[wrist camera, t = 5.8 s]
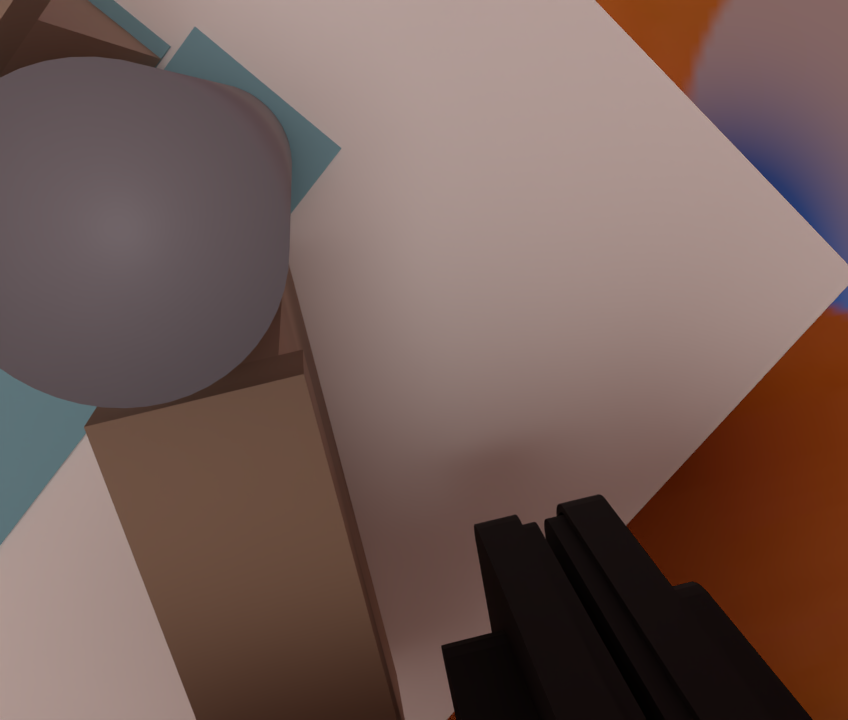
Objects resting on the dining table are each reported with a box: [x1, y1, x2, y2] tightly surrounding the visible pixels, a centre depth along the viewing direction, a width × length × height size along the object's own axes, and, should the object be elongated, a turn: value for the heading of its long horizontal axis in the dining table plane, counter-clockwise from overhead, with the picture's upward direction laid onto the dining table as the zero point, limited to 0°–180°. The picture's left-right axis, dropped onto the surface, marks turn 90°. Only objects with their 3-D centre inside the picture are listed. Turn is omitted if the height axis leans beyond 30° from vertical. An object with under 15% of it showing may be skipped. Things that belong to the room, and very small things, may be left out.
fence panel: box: [84, 266, 405, 720], centre depth 9 cm, size 8×2×5 cm, turn 11°
